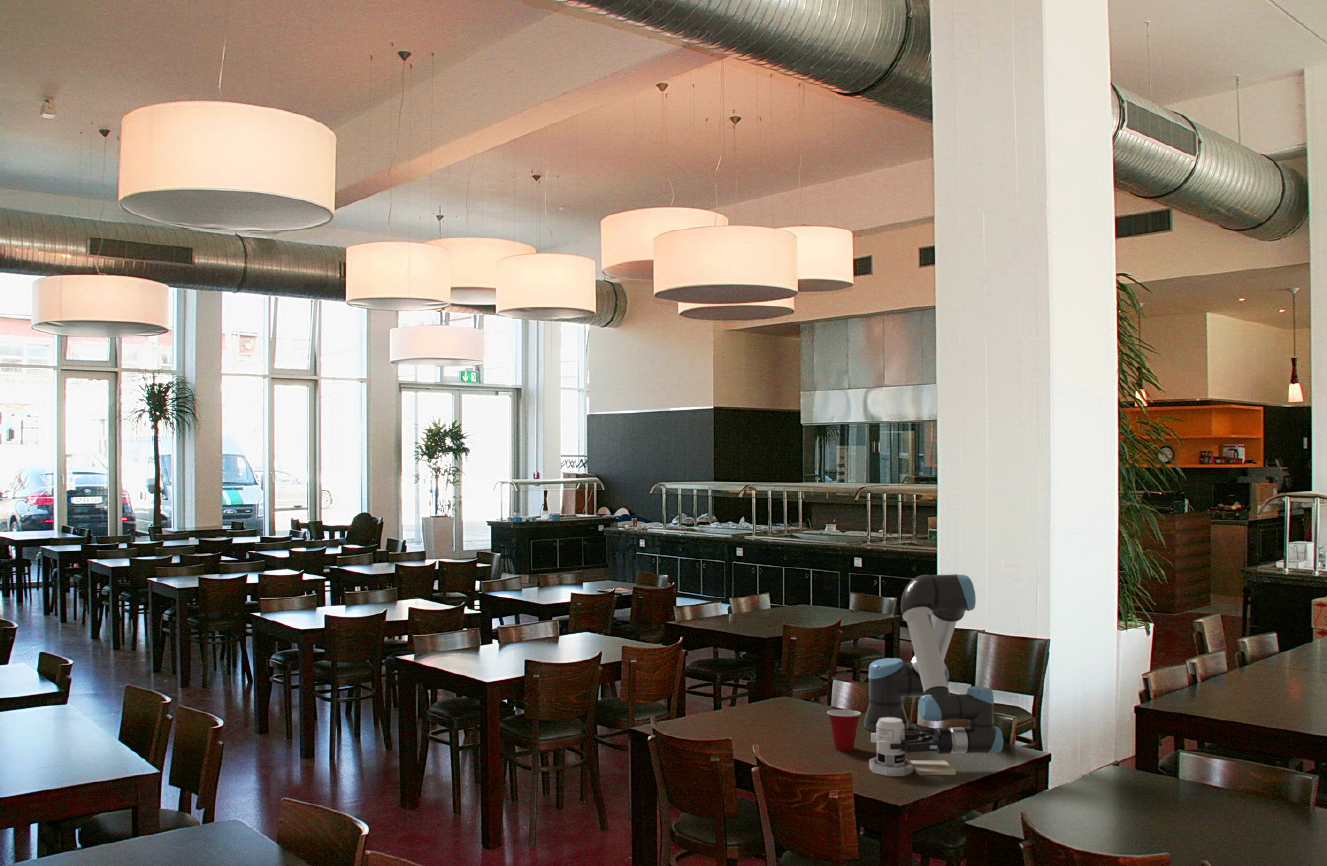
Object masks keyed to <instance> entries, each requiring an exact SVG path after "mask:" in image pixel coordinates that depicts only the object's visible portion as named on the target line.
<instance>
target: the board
mask: <svg viewBox="0 0 1327 866" xmlns="http://www.w3.org/2000/svg"><path fill="white" fill-rule="evenodd" d="M909 760H910V759H909ZM910 761H911V762H912V763H913V771H915V773H916V774H917V775H919V776H956V775H957V770H956V769H955V768H954V767H953V766H951V764H949V763H948V762H947V761H946V760H945V759H921V760H920V759H919V760H917V759H913V760H910Z"/></svg>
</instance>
